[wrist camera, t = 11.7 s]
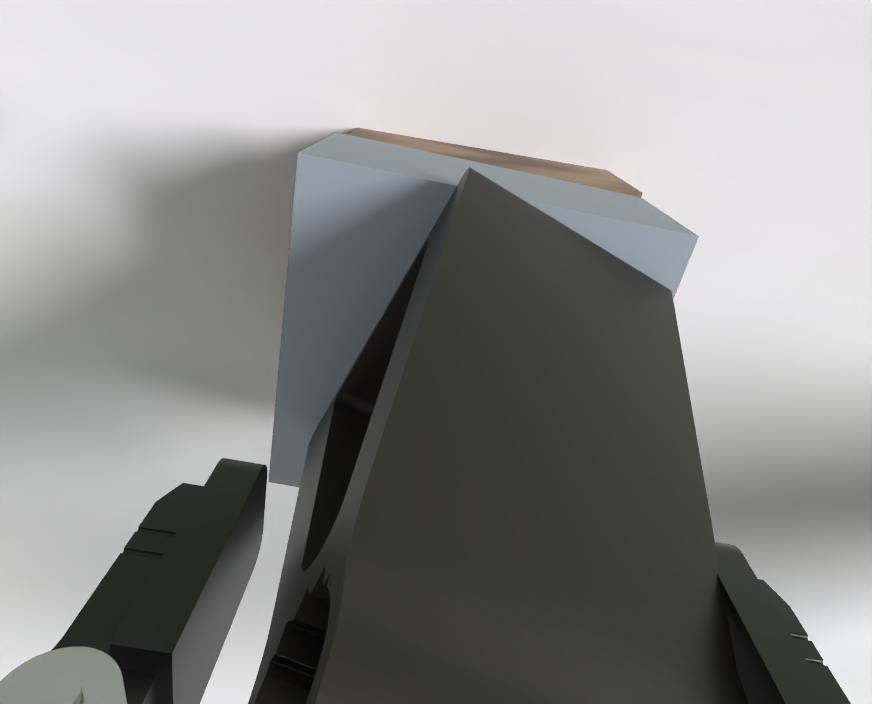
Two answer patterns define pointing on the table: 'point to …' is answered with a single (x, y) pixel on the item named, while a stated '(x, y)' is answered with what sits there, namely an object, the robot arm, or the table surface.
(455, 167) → the tower top
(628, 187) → the tower bottom
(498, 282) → the phone stand
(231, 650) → the table surface
